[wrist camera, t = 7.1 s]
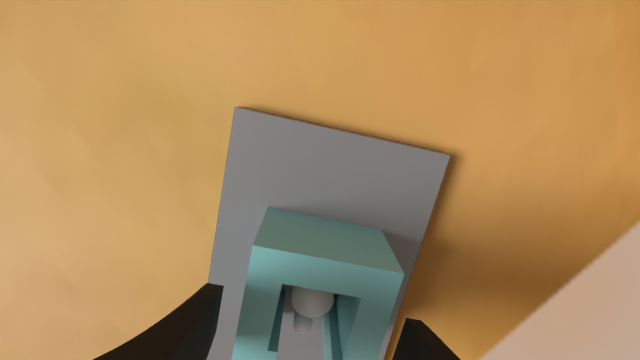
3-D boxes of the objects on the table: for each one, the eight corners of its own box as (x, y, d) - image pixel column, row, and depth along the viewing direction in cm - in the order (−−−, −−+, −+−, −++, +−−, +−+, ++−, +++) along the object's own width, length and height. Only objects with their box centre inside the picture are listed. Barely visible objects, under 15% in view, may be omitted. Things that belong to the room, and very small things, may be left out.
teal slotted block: (267, 206, 15) (252, 245, 11) (381, 229, 15) (404, 273, 12) (248, 307, 16) (229, 372, 12) (353, 325, 17) (365, 393, 13)
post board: (369, 377, 19) (381, 438, 16) (201, 350, 18) (176, 409, 15) (441, 151, 16) (478, 167, 12) (239, 106, 15) (218, 109, 11)
